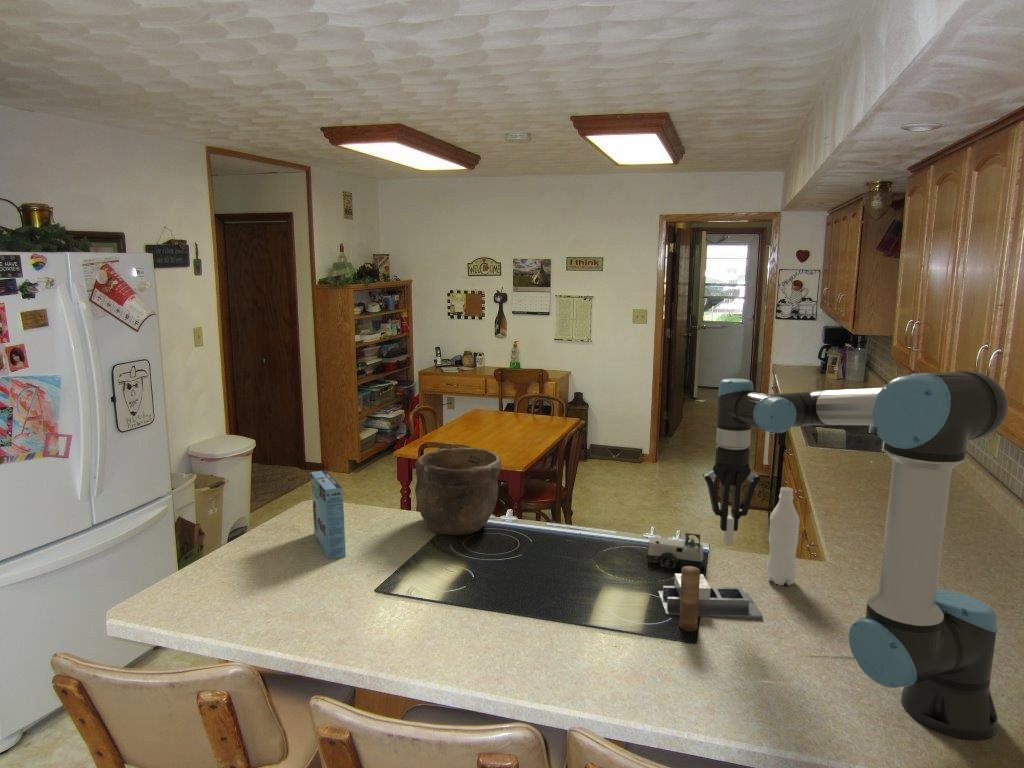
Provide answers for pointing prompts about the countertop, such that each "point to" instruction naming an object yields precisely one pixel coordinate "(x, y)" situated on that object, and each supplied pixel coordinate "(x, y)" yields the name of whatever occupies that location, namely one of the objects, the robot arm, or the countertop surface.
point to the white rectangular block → (703, 587)
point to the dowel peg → (689, 598)
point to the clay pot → (457, 489)
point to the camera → (676, 552)
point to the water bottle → (783, 539)
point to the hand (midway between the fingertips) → (728, 543)
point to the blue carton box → (328, 514)
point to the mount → (715, 603)
